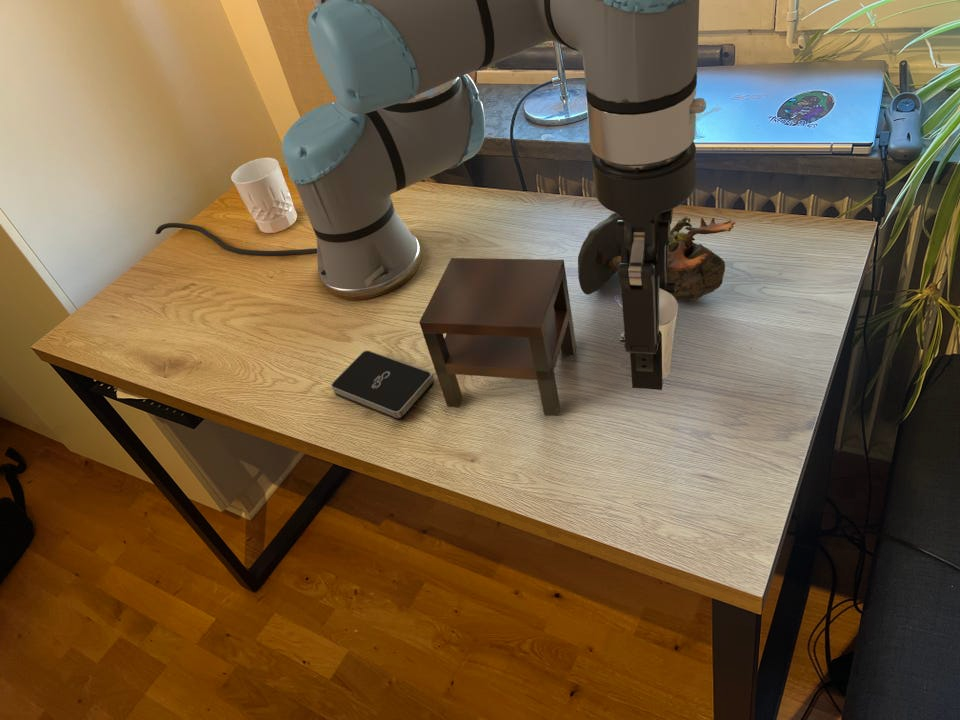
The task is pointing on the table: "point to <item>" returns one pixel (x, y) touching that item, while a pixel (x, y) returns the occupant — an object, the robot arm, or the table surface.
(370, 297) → the robot arm
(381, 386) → the external hard drive
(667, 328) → the milkshake
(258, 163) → the white cup
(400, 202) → the table surface
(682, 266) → the figurine
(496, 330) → the small wooden side table
